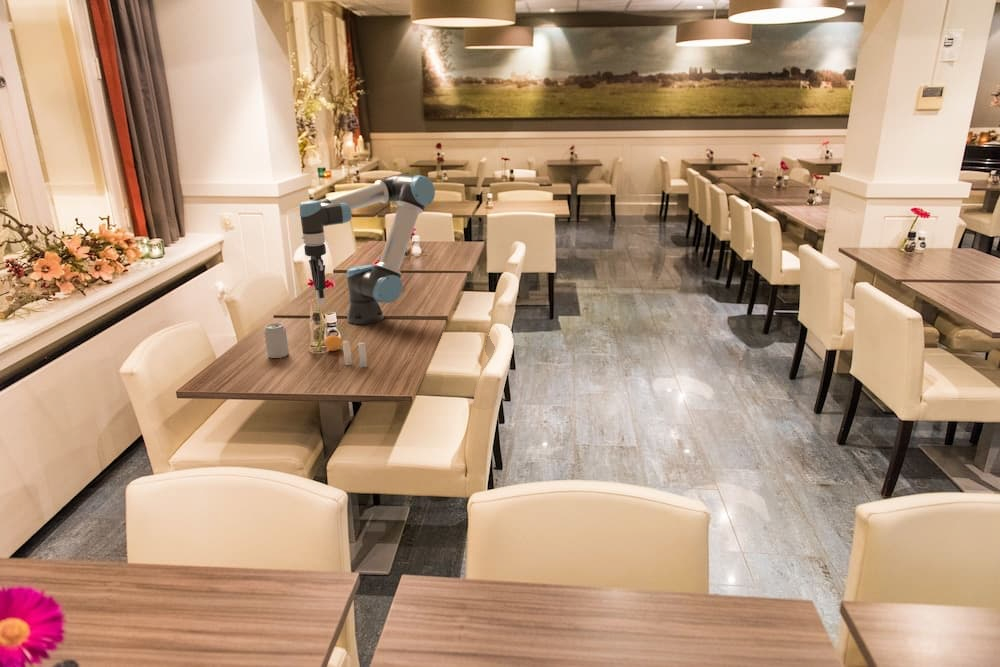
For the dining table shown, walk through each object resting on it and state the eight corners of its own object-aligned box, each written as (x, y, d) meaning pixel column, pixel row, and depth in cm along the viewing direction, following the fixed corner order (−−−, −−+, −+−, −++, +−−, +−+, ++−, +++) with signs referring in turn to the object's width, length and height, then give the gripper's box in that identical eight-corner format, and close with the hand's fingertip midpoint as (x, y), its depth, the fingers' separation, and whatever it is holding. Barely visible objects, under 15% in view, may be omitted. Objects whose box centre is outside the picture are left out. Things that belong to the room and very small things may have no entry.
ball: (323, 349, 253) (322, 334, 251) (339, 346, 255) (337, 331, 253) (328, 354, 248) (326, 339, 246) (344, 351, 250) (342, 335, 248)
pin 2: (359, 365, 236) (357, 343, 233) (366, 364, 237) (363, 341, 234) (361, 368, 234) (359, 345, 231) (368, 366, 235) (366, 343, 232)
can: (292, 352, 251) (288, 322, 247) (284, 359, 244) (279, 328, 240) (273, 352, 251) (268, 322, 248) (264, 359, 244) (259, 328, 241)
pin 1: (344, 364, 238) (341, 341, 235) (350, 362, 239) (348, 340, 236) (346, 366, 236) (343, 343, 233) (352, 364, 237) (350, 342, 234)
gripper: (299, 242, 250) (307, 303, 258) (309, 248, 239) (316, 311, 247) (319, 240, 254) (326, 300, 261) (329, 245, 243) (336, 308, 251)
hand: (321, 305), depth 254 cm, fingers closed
